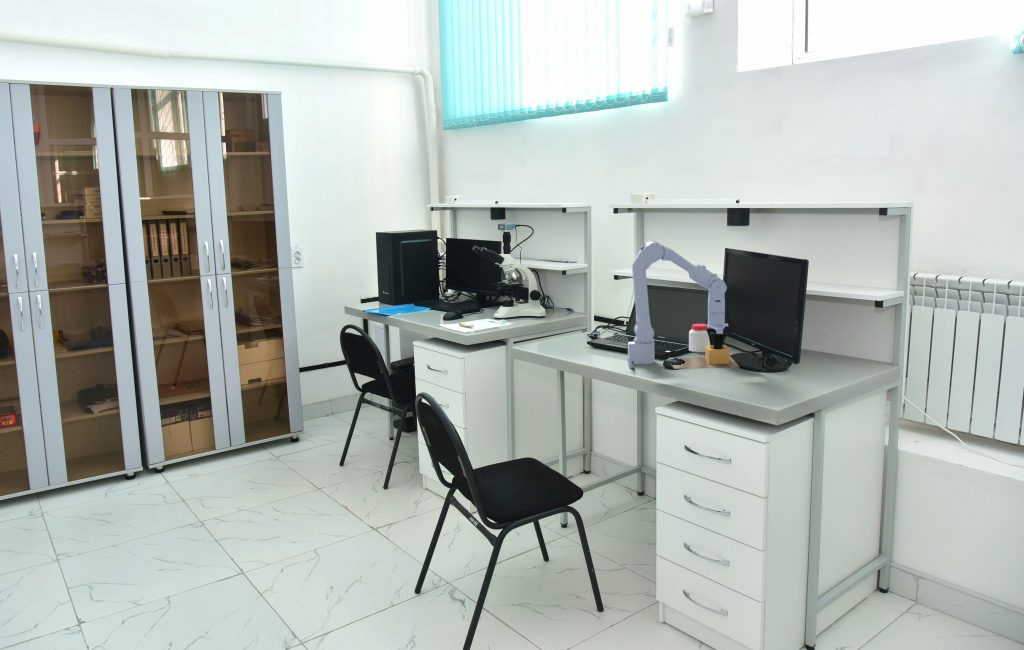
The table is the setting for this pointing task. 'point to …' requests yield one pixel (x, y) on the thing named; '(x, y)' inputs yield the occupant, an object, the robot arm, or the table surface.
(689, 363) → the keeper board
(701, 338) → the pill bottle
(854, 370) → the table surface
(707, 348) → the orange open box
